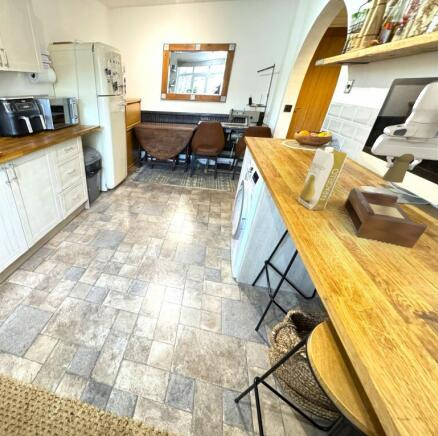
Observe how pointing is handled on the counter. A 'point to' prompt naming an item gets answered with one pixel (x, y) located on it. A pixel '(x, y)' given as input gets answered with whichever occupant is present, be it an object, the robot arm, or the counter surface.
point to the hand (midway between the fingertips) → (398, 168)
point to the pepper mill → (398, 169)
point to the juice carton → (322, 178)
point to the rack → (381, 218)
